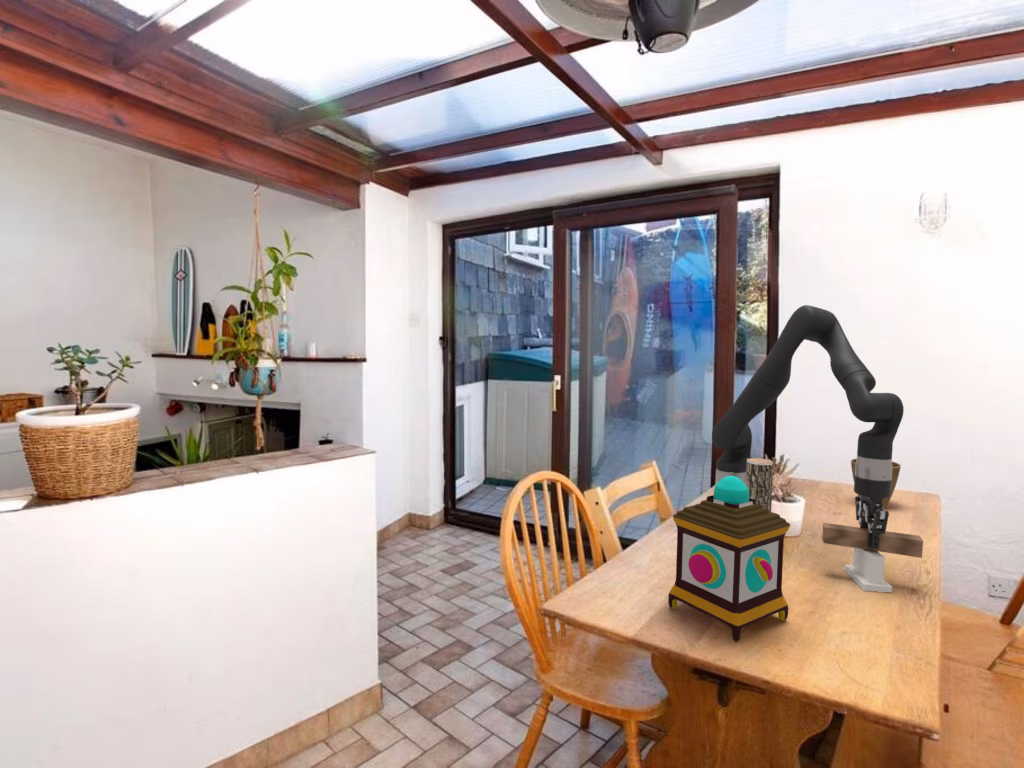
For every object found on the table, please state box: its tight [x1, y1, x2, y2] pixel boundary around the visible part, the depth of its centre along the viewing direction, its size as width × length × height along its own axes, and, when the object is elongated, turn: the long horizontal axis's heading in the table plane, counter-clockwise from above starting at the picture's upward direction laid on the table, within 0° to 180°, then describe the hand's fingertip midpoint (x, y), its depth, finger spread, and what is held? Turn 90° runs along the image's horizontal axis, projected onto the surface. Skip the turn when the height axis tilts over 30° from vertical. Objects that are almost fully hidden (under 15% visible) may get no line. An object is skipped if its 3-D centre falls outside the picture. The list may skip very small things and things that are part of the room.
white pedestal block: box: [844, 548, 893, 593], centre depth 135 cm, size 6×12×8 cm, turn 167°
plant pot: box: [850, 458, 902, 510], centre depth 197 cm, size 15×15×16 cm
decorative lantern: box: [667, 476, 791, 643], centre depth 117 cm, size 20×20×30 cm
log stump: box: [746, 457, 774, 512], centre depth 156 cm, size 7×7×25 cm
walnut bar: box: [821, 522, 924, 559], centre depth 134 cm, size 20×4×4 cm, turn 64°
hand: (868, 544), depth 134 cm, fingers closed on walnut bar, 4 cm apart
